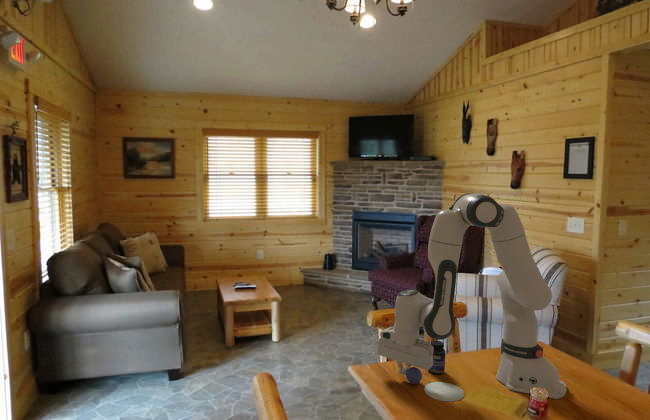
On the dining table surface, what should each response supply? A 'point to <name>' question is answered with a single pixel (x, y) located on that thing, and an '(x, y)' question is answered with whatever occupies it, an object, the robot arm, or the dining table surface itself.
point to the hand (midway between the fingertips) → (403, 373)
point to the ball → (413, 375)
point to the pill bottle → (438, 358)
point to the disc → (444, 391)
